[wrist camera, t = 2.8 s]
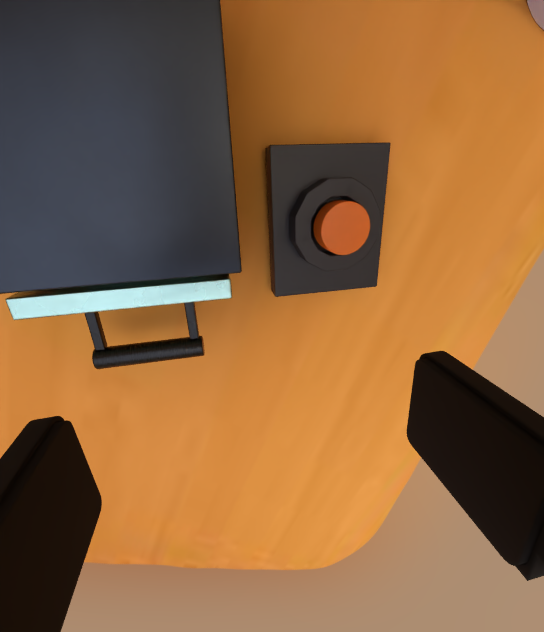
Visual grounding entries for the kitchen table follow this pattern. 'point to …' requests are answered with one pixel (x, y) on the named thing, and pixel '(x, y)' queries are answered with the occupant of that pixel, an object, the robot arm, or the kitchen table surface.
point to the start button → (341, 227)
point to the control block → (306, 201)
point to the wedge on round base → (537, 11)
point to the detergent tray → (125, 298)
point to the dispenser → (114, 143)
